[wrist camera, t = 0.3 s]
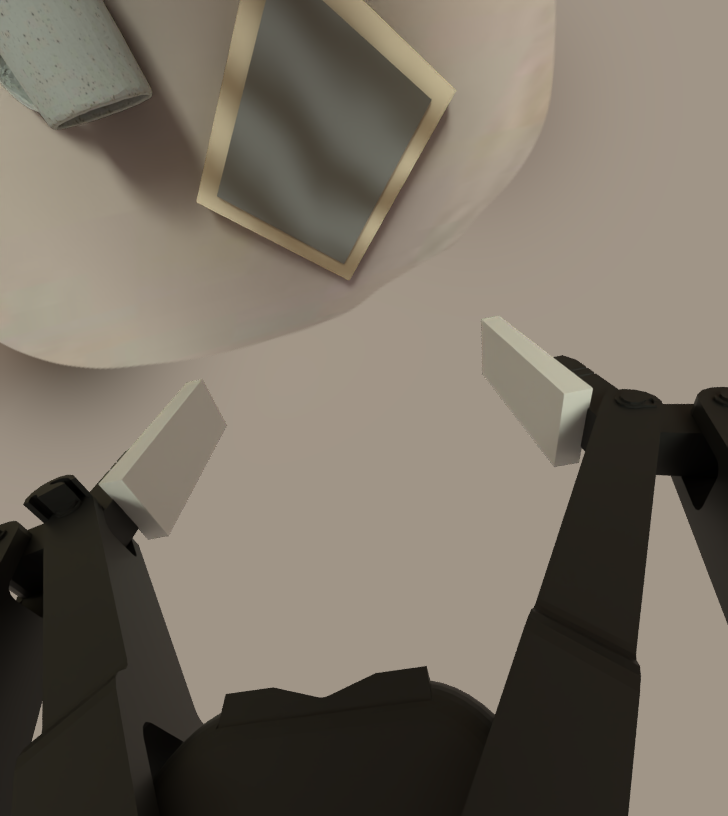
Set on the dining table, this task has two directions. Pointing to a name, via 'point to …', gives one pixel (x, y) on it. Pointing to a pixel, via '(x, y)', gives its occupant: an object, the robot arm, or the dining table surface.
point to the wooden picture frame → (318, 126)
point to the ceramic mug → (67, 61)
